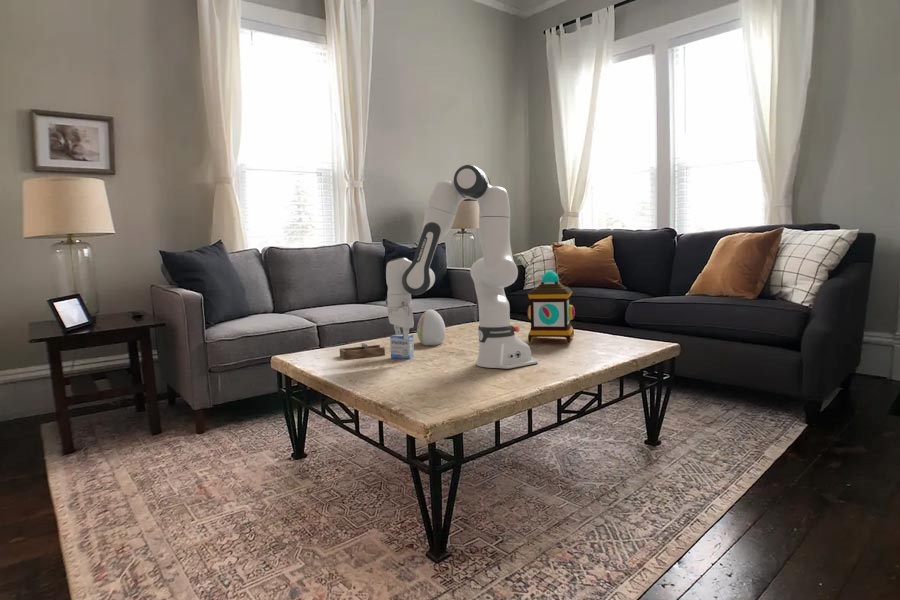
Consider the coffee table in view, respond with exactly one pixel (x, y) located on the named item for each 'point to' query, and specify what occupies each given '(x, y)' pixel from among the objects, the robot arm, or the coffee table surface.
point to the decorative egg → (431, 328)
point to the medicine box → (401, 347)
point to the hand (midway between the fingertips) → (402, 337)
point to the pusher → (364, 346)
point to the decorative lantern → (550, 309)
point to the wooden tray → (362, 352)
